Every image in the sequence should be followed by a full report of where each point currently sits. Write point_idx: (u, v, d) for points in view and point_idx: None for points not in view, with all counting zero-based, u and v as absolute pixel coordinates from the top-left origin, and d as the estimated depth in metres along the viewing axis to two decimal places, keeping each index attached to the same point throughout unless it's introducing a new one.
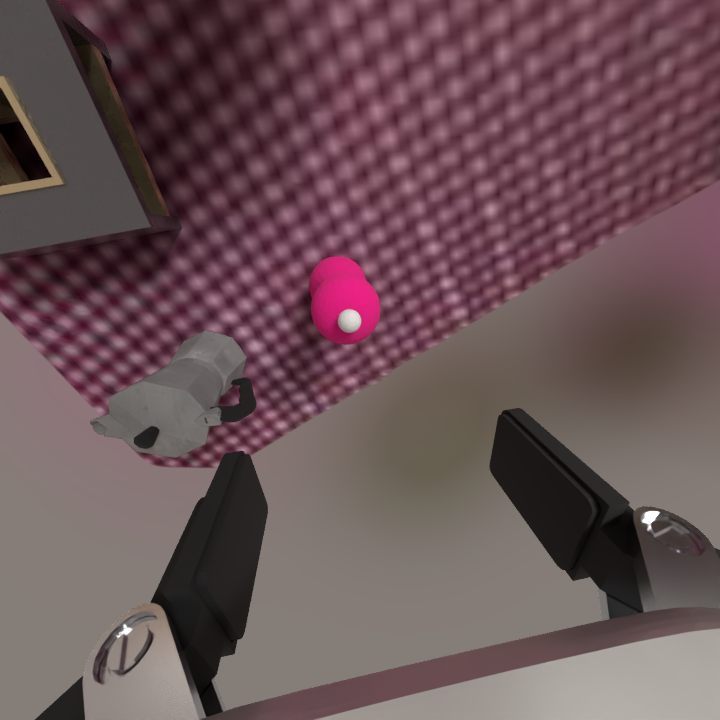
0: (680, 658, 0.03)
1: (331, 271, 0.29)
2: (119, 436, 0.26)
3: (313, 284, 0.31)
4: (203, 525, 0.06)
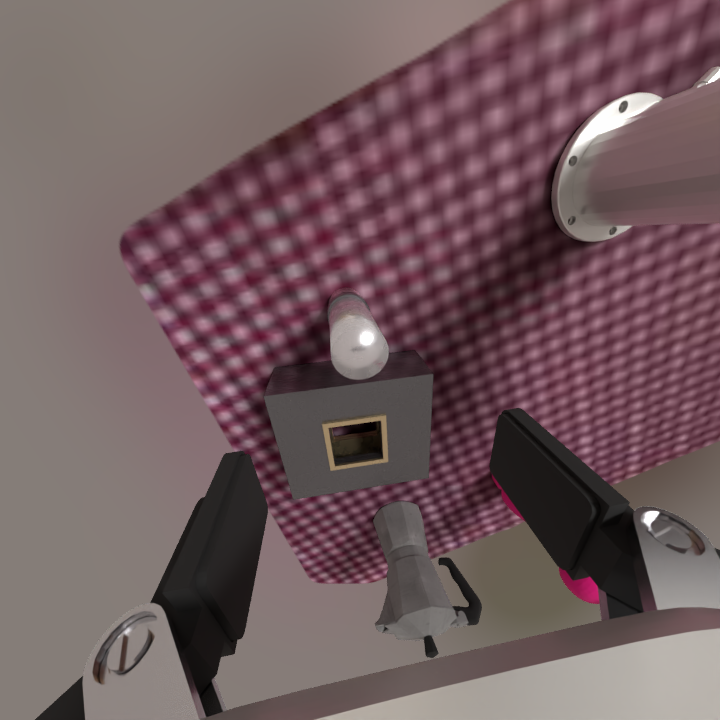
0: (680, 658, 0.03)
1: None
2: (394, 633, 0.35)
3: None
4: (203, 525, 0.06)
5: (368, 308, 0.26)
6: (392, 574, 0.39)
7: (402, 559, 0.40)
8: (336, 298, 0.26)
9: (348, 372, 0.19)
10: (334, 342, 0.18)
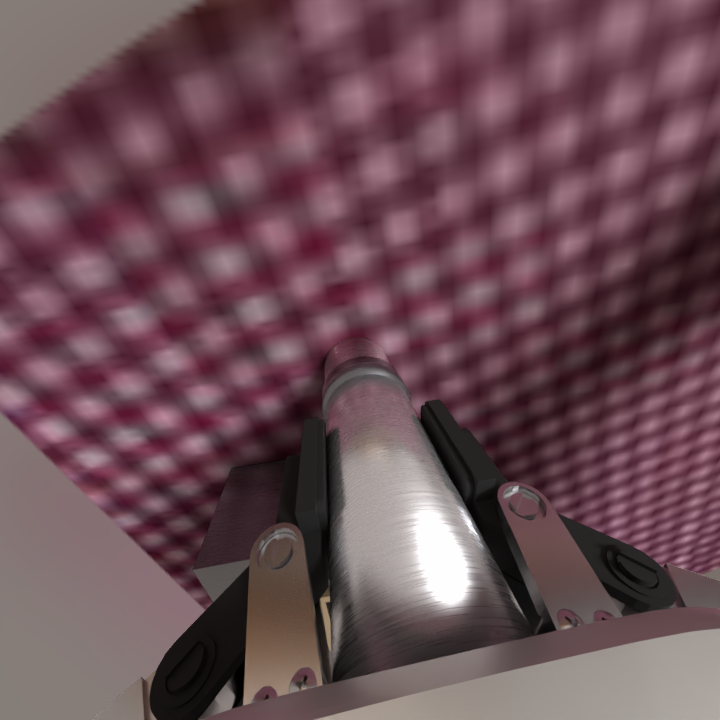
0: (680, 658, 0.03)
1: None
2: None
3: None
4: (308, 469, 0.08)
5: (408, 394, 0.13)
6: None
7: None
8: (341, 377, 0.12)
9: None
10: None
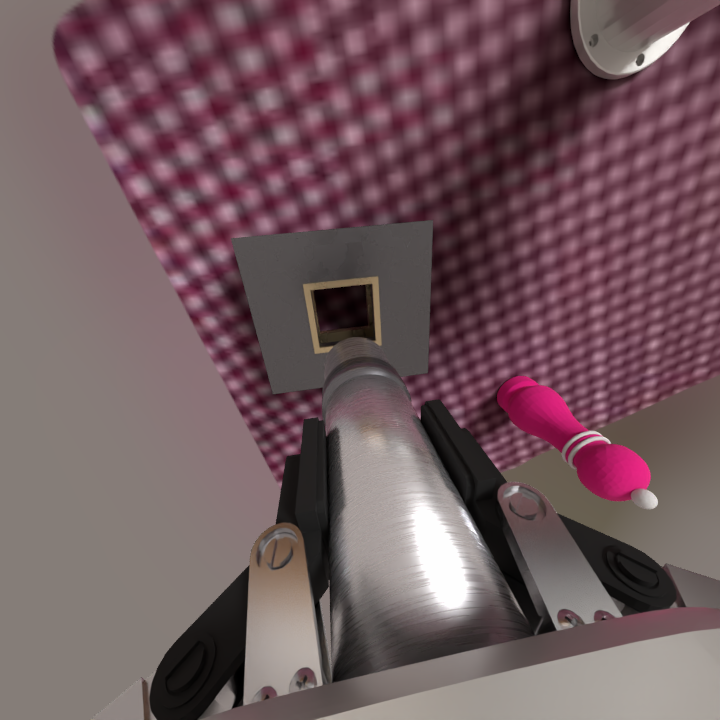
0: (680, 658, 0.03)
1: (554, 409, 0.34)
2: None
3: (529, 414, 0.36)
4: (308, 469, 0.08)
5: (408, 394, 0.13)
6: None
7: None
8: (341, 377, 0.12)
9: None
10: None
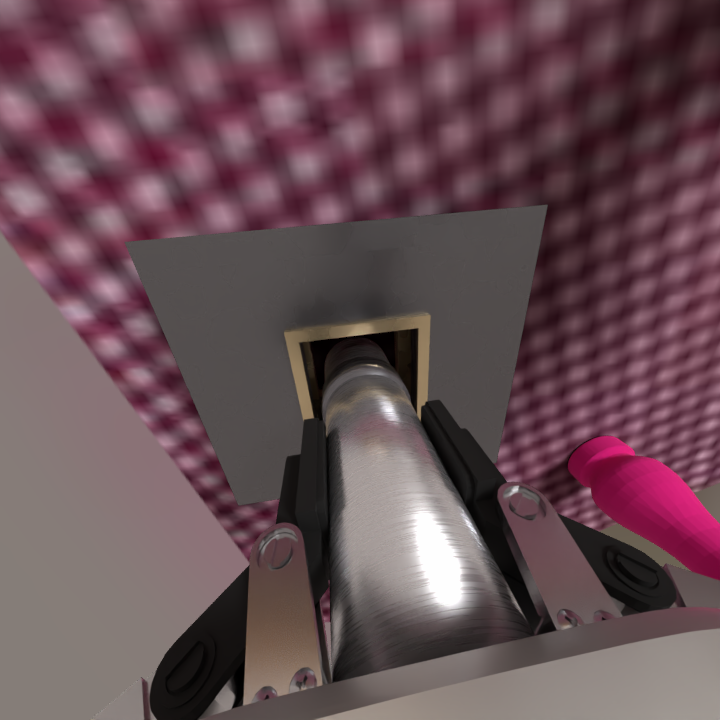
0: (680, 658, 0.03)
1: (683, 506, 0.22)
2: None
3: (638, 507, 0.24)
4: (308, 469, 0.08)
5: (408, 394, 0.13)
6: None
7: None
8: (341, 377, 0.12)
9: None
10: None
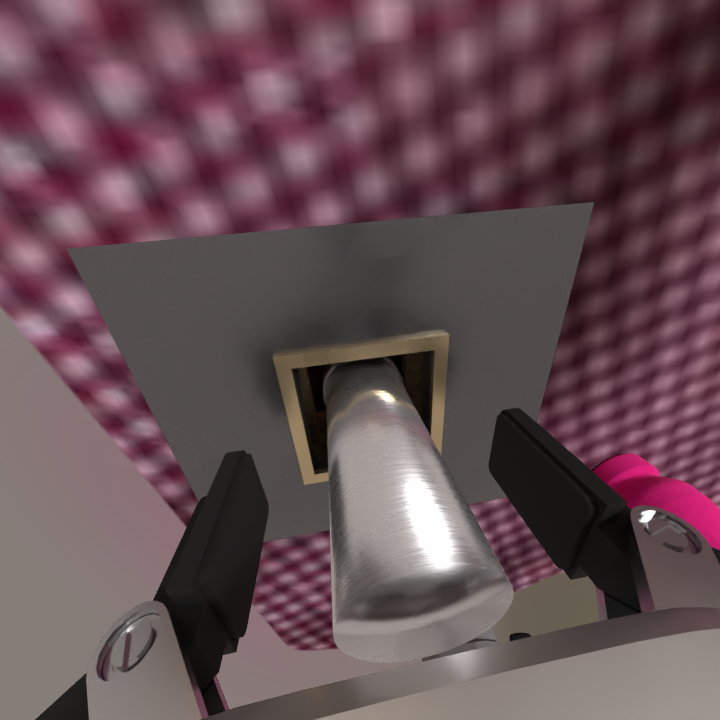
0: (680, 658, 0.03)
1: None
2: None
3: None
4: (205, 524, 0.07)
5: (400, 378, 0.14)
6: None
7: (451, 649, 0.21)
8: (340, 362, 0.13)
9: (385, 654, 0.06)
10: (345, 609, 0.05)
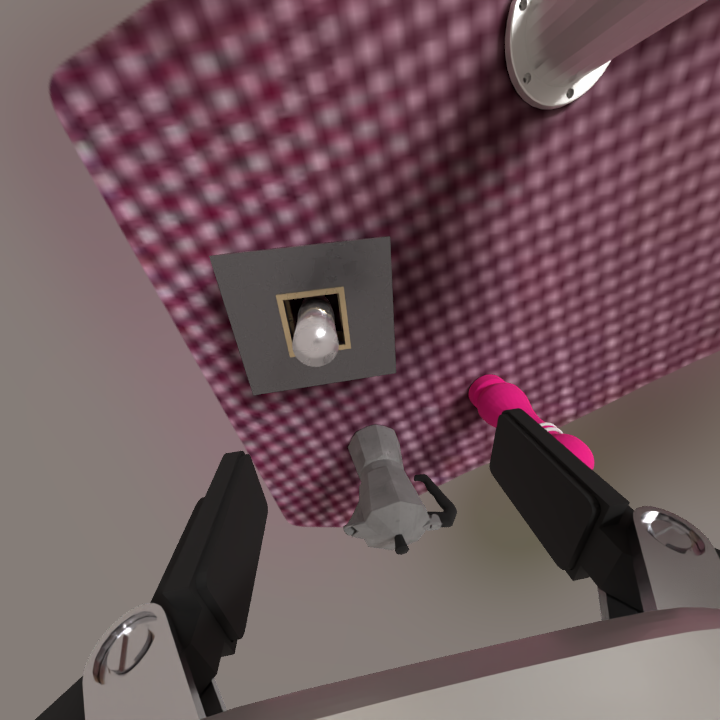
0: (680, 658, 0.03)
1: (516, 404, 0.37)
2: (364, 537, 0.33)
3: (494, 409, 0.39)
4: (203, 525, 0.06)
5: (332, 310, 0.31)
6: (364, 485, 0.37)
7: (374, 470, 0.38)
8: (304, 303, 0.31)
9: (307, 361, 0.24)
10: (294, 337, 0.23)
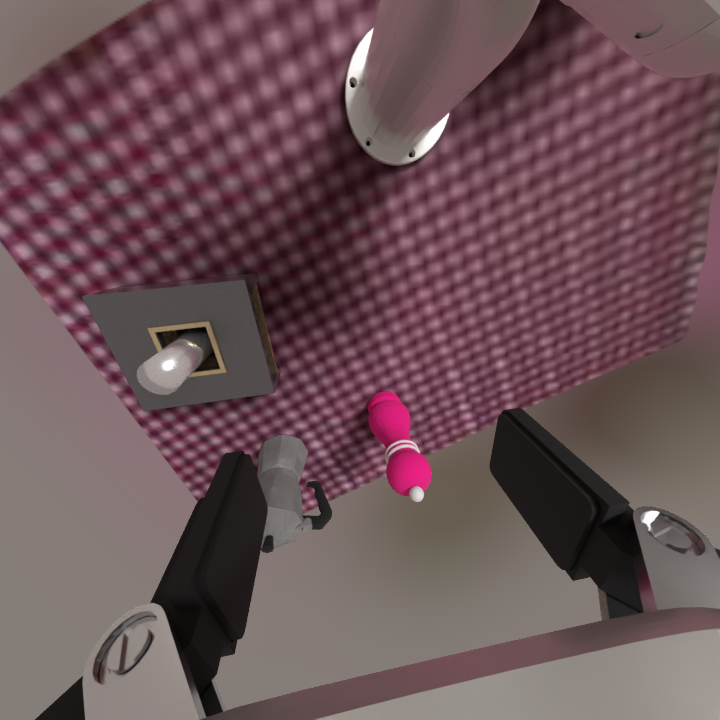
0: (680, 658, 0.03)
1: (391, 421, 0.42)
2: None
3: (375, 425, 0.43)
4: (203, 525, 0.06)
5: (209, 339, 0.36)
6: None
7: (264, 477, 0.42)
8: None
9: (154, 390, 0.28)
10: (137, 371, 0.27)
